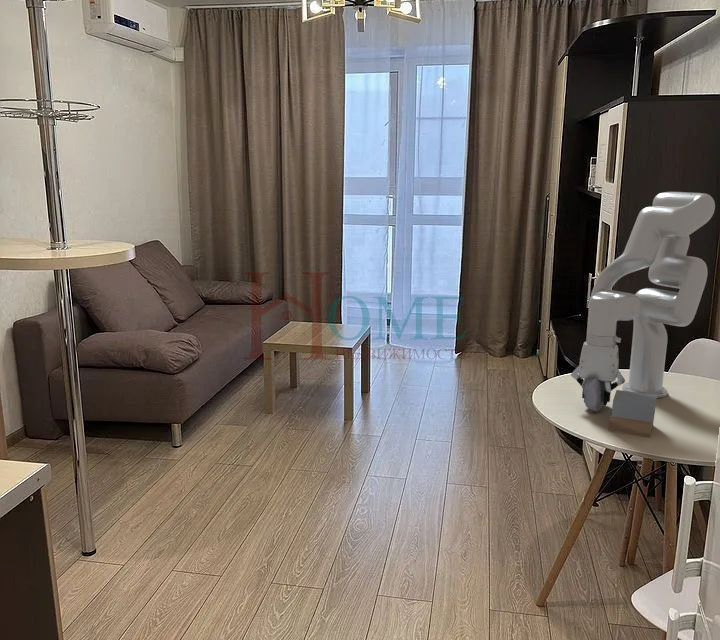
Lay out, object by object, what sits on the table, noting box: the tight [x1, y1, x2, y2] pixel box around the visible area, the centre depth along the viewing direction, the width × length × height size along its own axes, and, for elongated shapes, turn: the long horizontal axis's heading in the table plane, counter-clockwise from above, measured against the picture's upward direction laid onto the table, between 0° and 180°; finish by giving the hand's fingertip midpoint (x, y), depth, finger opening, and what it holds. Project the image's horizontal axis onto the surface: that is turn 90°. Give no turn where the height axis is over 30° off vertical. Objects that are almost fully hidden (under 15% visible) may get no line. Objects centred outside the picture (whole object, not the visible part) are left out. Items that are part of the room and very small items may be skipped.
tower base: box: [608, 412, 654, 439], centre depth 184 cm, size 9×10×4 cm
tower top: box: [611, 389, 658, 423], centre depth 183 cm, size 9×10×4 cm
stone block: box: [581, 378, 606, 413], centre depth 197 cm, size 12×5×10 cm, turn 143°
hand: (595, 401), depth 197 cm, fingers closed on stone block, 4 cm apart
